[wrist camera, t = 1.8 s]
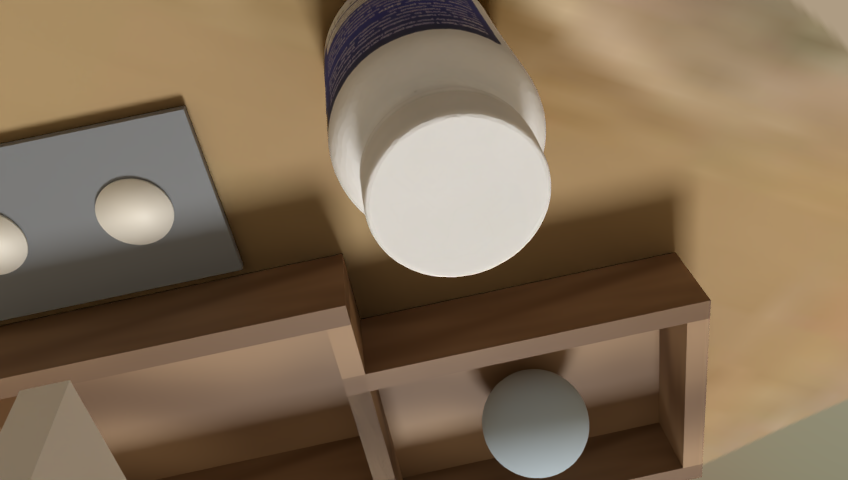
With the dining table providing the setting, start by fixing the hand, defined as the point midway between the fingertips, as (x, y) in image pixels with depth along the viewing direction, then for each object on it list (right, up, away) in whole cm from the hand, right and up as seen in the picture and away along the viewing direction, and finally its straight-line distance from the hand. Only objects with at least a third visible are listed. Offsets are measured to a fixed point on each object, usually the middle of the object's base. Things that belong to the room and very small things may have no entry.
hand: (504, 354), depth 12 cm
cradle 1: (-10, -4, +17) cm, 20 cm away
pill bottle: (-2, +7, +11) cm, 14 cm away
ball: (+3, -4, +18) cm, 19 cm away
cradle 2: (+3, -4, +19) cm, 19 cm away
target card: (-13, +2, +13) cm, 18 cm away
